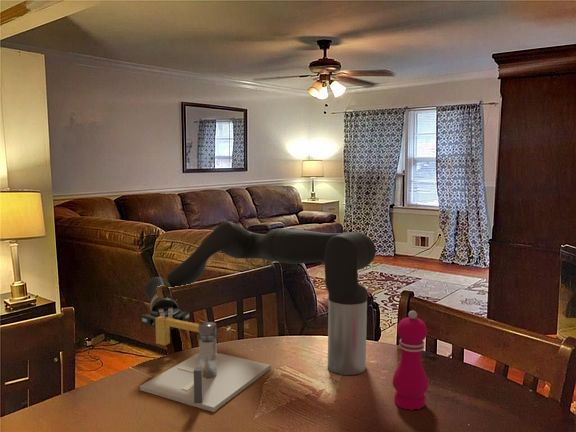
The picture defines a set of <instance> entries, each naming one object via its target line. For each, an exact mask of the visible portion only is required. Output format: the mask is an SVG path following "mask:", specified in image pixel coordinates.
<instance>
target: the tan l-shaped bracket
mask: <svg viewBox="0 0 576 432" xmlns="http://www.w3.org/2000/svg"><path fill="white" fill-rule="evenodd" d="M155 325H156V328H155V344H156V345H160V346H167V345H169V344H171V332H170V326H171V327H173V328H175V329H176V328H177V329H181V330H185V331H191V332H194V333H198V340H199V339H200V340H202V341H210V340H214V339H216V340H217V323H215V322H213V321H206V322H205V321H204V322H200V323H196V322H191V321H181V320H176V319H171V318H168V317H163V316H159V317H157V318H155Z"/></svg>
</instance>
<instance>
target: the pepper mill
mask: <svg viewBox="0 0 576 432" xmlns="http://www.w3.org/2000/svg"><path fill="white" fill-rule="evenodd" d="M407 316H408V317H404V318H403V319H400V321H399V322H398V325H397V328H396V331H397V335H398V337H399V338H400V339H399V344H398V347H399V348H400V350H401V357H400V361H399V364H398V366H397V367H396V369H395V371H394V374H393V376H392V386H393V388H394V390H395V392H394V401H393V402H394V403H395V404H396V405H397V406H398V407H399V408H401V409H403V408H404V410H407V409H409V410H408V411H415V410H414V409H419V410H421V409H420V408H422V407H423V406H424V405H425V406H426V395H425V393H426V392H427V391H428V389H429V380H428V376H427V374H426V371H425V369H424V367H423V364H422V351H423V350H425V342H424V340H425V339H426V337H427V336H428V328H427V325H426V323H425V321H424V320H422V319H420V318H418V313H417V312H416V311H415V310H410V311H409V312H408V315H407ZM425 406H424V407H425ZM424 407H423V408H424ZM423 408H422V409H423Z"/></svg>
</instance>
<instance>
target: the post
mask: <svg viewBox="0 0 576 432" xmlns="http://www.w3.org/2000/svg"><path fill="white" fill-rule="evenodd" d="M217 341H218V340H217V338H216V339H214V340H210V341H202V340H200V339H199V338H198V353H199V367H203V378H206V379H211V378H214V377H216V376H217V353H218V351H217V346H218V344H217Z"/></svg>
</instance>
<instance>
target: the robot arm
mask: <svg viewBox="0 0 576 432" xmlns="http://www.w3.org/2000/svg"><path fill="white" fill-rule="evenodd" d="M374 243H375V242H373V240H372V239H371V237H370V236H368V235H366V234H365V233H363V232H361V231H360V232H359V231H351V232H342V233H341V232H338V233H336V232H335V233H334V232H333V233H327V232H320V231H319V232H318V231H314V230H312V231H311V230H304V229H296V228H284V227H283V228H281V227H279V228H274V229H271V230H269V231H268V232H266V233H257V232H253V231H250V230H247V229H245V228H244V227H242V226H240V225H239V224H237V223H235V222H233V221H229V220H228V221H227V220H226V221H223V222H222V223H221V224H219V225H218V226H216V228H214V229H213V231H211V232H210V234H209V235H208V236H207V237H206V238H205V239H204V240H203V241H202V242H201V244H200V245H199V246H198V247H197V248H196V249H195V250H194V251H193V253H192V254H190V255H189V256H188V257H187V258H185V260H184V261H182V262H181V263H180V264H179V265H177V266H175V268H173V269H172V270H171V271H169V273H168V275H167V281H166V279H164V278H163V277H161V276H155V277H151V278H150V280H147V283H146V284H145V287H144V294H145V297H146V298H147V299H148V300H149V302H150V310H149V311H150V312H149V313H148V314H147V313H143V314H142V315H141V321H142V322H141V323H142V325H145V326H148V327H151V328H155V329H156V325H155V318H157V317H159V316H163V317H168V318H171V319H176V320H181V321H186V322H189V321H190V310H188V309H186V310H184V311H182V310H181V309H179V305H178V302H177V303H176V301H177V300H176V301H175V300H174V299H171V298H168V297H167V298H160V299H159V297H158V296H157V290H156V288H157V286H160V285H166V286H168V287H175V286H181V285H186V284H191V283H192V284H193V283H195V282H197V280H198V279H199V278H200V277H201V276H202V275H203V273H204V270H205V268H206V265H207V262H208V260H209V259H210V257H212V256H213V255H215V254H216V253H219V252H221V253H223V254H226V255H227V256H229V257H231V258H233V259H240V260H241V259H262V260H266V261H270V262H275V263H276V262H277V263H283V264H284V263H285V264H291V265H292V264H293V265H294V264H296V265H298V264H299V265H300V264H312V263H321V262H322V263H324V283H325V287H326V289H327V290H326V291H327V293H328V310H327V312H328V313H327V314H328V318H327V319H328V320H327V321H328V322H327V328H328V329H327V369H329V371H331V372H332V373H335V374H338V375H341V376H343V375H345V376H354V375H359V374H361V373H364V372H365V371H366V361H367V360H366V359H367V357H366V355H367V322H368V321H367V319H368V314H367V313H368V312H367V311H368V289H367V288H366V287H365V286H364V285H362V284H359V278H358V276H359V275H358V273H359V272H358V271H359V270H362V269H364V268H367V267H368V266H369V265H370V264H371V263H372V262H373V261H374V260H375V257H376V254H377V253H376V252H377V249H376V245H375V244H374ZM192 284H191V285H192ZM158 300H159V301H158ZM172 330H174V327H171V326H170V333H171V331H172Z"/></svg>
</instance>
